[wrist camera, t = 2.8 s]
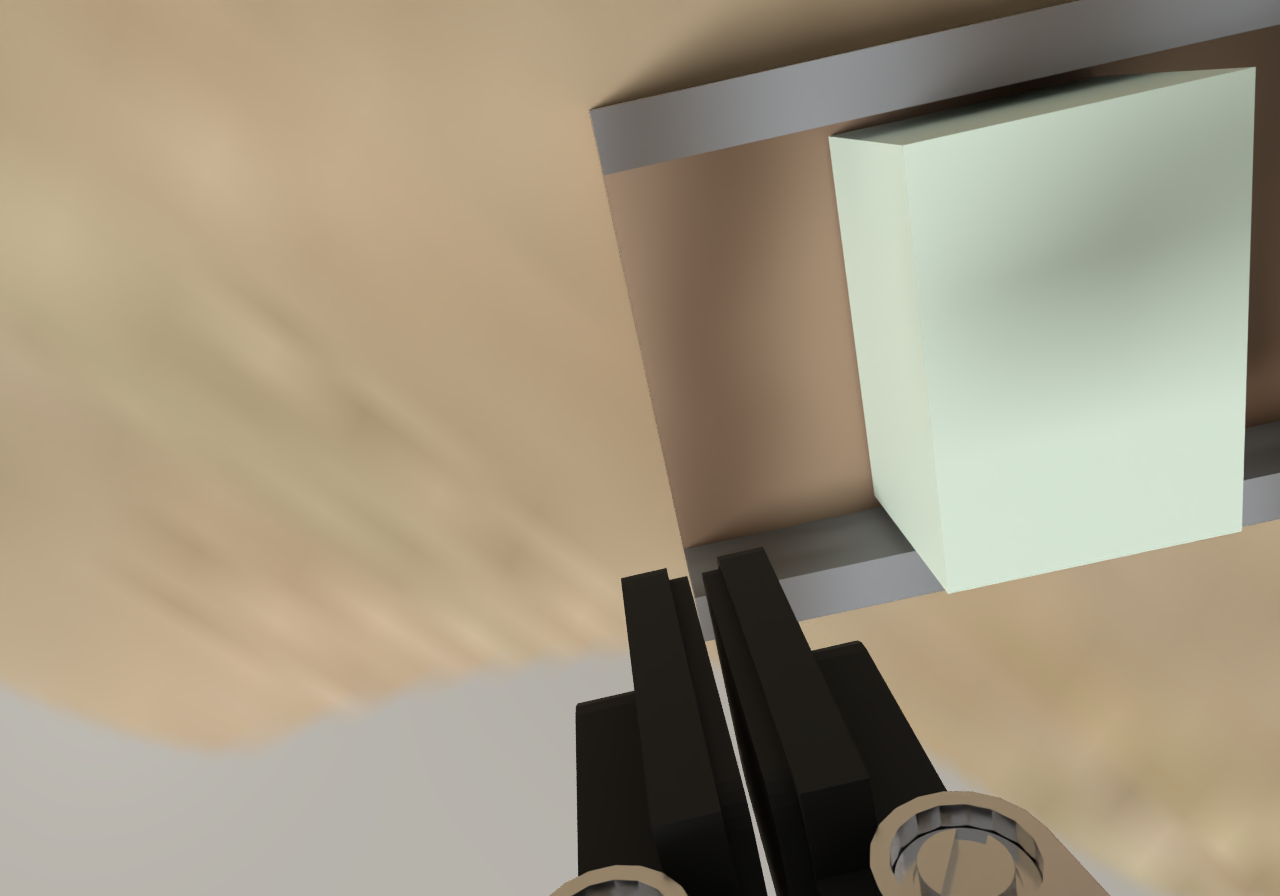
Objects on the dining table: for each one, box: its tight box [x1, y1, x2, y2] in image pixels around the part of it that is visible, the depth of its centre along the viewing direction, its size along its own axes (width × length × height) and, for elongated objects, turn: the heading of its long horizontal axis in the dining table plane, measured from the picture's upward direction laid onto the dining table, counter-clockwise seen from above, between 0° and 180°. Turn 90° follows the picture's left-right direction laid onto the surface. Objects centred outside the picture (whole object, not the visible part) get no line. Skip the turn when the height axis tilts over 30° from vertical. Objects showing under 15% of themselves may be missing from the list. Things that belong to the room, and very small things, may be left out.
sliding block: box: [828, 67, 1256, 594], centre depth 19 cm, size 6×9×5 cm
